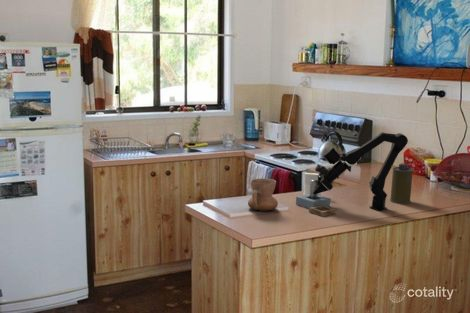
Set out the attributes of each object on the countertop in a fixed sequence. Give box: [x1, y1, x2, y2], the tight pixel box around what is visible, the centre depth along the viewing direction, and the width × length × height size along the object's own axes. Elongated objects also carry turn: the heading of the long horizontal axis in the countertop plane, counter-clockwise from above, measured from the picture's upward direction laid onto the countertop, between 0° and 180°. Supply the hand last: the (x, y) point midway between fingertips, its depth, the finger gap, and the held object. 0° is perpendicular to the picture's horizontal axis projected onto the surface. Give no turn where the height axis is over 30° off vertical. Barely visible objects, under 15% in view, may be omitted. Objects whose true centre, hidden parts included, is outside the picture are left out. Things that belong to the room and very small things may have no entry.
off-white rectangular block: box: [303, 172, 322, 196], centre depth 319 cm, size 9×9×12 cm
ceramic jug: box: [247, 177, 279, 212], centre depth 289 cm, size 18×14×14 cm
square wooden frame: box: [308, 205, 337, 217], centre depth 287 cm, size 9×9×2 cm
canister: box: [389, 162, 414, 205], centre depth 313 cm, size 11×10×20 cm
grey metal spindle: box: [309, 179, 318, 200], centre depth 299 cm, size 4×4×13 cm
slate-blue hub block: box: [295, 194, 331, 209], centre depth 300 cm, size 12×12×4 cm
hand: (312, 191), depth 299 cm, fingers open, 9 cm apart
